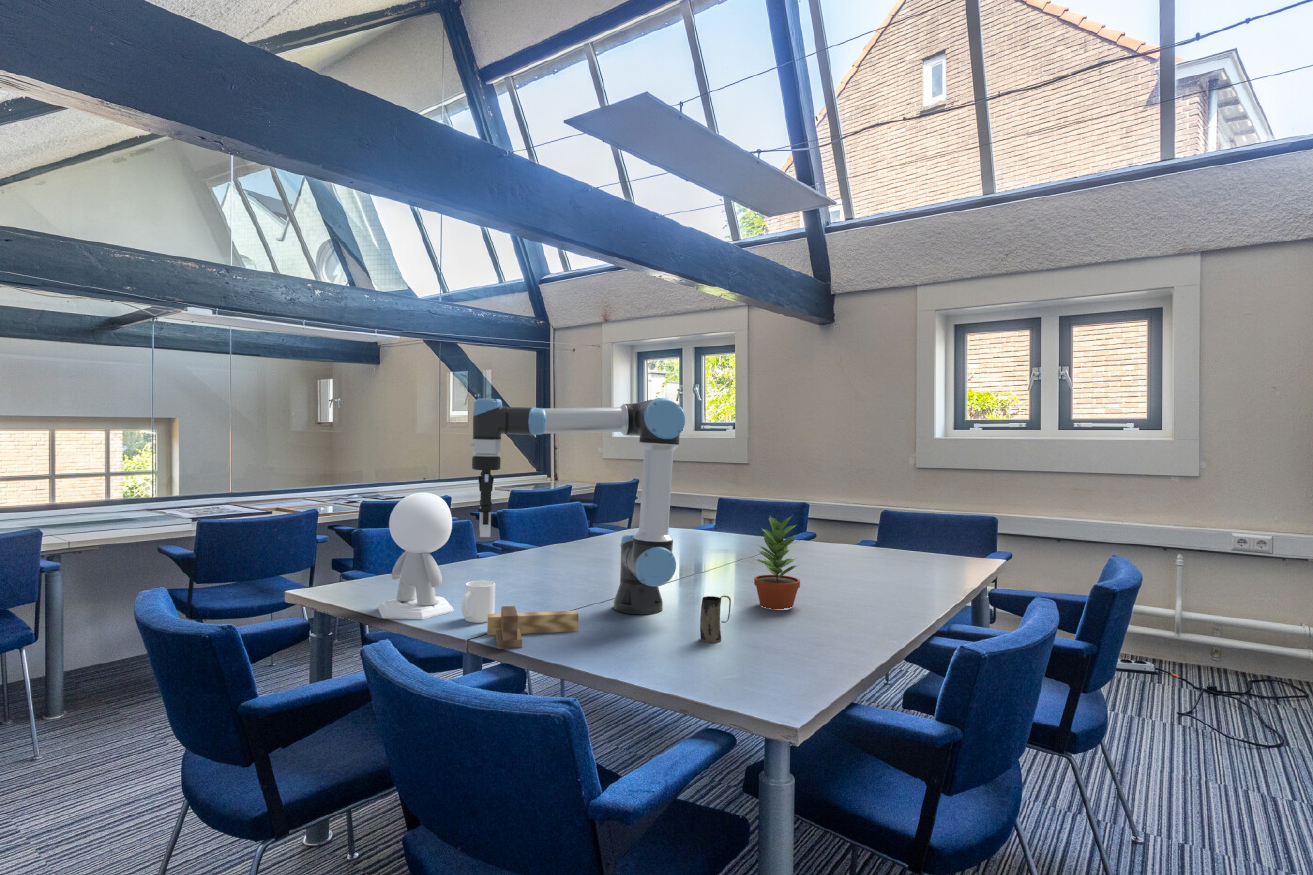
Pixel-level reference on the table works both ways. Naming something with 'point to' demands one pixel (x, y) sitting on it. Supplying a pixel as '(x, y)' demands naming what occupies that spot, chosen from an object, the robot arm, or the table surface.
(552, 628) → the oak bar
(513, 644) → the fulcrum
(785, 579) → the potted plant
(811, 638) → the table surface
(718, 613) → the mug
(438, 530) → the big headed doll
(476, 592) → the mug
